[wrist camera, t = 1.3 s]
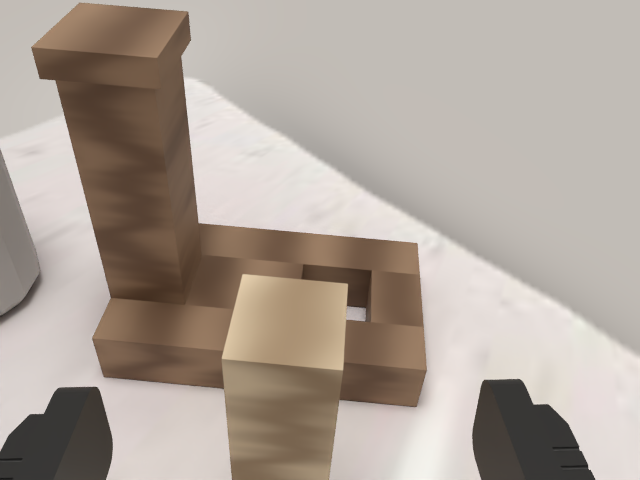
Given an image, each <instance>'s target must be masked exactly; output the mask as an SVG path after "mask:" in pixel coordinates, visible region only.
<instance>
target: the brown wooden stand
mask: <svg viewBox="0 0 640 480" xmlns="http://www.w3.org/2000/svg"><path fill="white" fill-rule="evenodd" d="M190 41H191V37H190V26H189V15H188V12H187V11H174V10H162V9H150V8H138V7H126V6H113V5H102V4H90V3H79V4H78V5H77V6H76V7H75V8H73V9H72V10H71V11H70V12H69V13H68V14H67V15H66V16H65V17H64V18H62V19H61V20H60V21H59V22H58V23H57V24H56V25H55V26H54V27H53V28H52V29H51V30H49V31H48V32H47V33H46V34H45V35H44V36H43V37H42V38H41V39H40V40H39V41H37V43H36V44H34V45H33V46H32V47H31V48H32V52H33V56H34V59H35V63H36V66H37V70H38V74H39V77H40V79H48V80H56V84H57V88H58V92H59V96H60V100H61V104H62V108H63V112H64V116H65V119H66V123H67V127H68V131H69V135H70V139H71V143H72V147H73V151H74V155H75V159H76V163H77V166H78V170H79V174H80V178H81V182H82V186H83V190H84V194H85V198H86V202H87V206H88V209H89V213H90V217H91V221H92V225H93V229H94V233H95V237H96V241H97V245H98V249H99V252H100V256H101V260H102V264H103V268H104V272H105V276H106V280H107V284H108V288H109V292H110V295H111V299H110V301H109V303H108V306H107V308H106V310H105V312H104V314H103V316H102V318H101V320H100V323H99V325H98V327H97V329H96V331H95V333H94V335H93V337H92V340H93V343H94V346H95V349H96V353H97V356H98V359H99V362H100V366H101V369H102V372H103V376H104V377H112V378H123V379H133V380H143V381H154V382H164V383H174V384H185V385H195V386H205V387H216V388H224V381H223V370H222V355H223V351H224V347H225V343H226V339H227V335H228V331H229V327H230V323H231V319H232V315H233V311H234V307H235V303H236V299H237V295H238V291H239V287H240V283H241V279H242V275H243V274H247V275H258V276H269V277H280V278H291V279H302V280H312V281H323V282H334V283H345V284H348V293H347V306H355V307H366V322H364V321H353V320H346V328H345V346H344V364H343V375H342V383H341V390H340V398H339V399H340V400H350V401H361V402H371V403H382V404H392V405H402V406H413V407H416V406H417V403H418V399H419V396H420V392H421V389H422V385H423V382H424V378H425V374H426V371H427V367H426V354H425V340H424V326H423V313H422V299H421V285H420V272H419V258H418V244H417V243H410V242H399V241H388V240H377V239H366V238H355V237H344V236H333V235H322V234H311V233H300V232H289V231H278V230H267V229H256V228H245V227H234V226H223V225H212V224H201V223H198V214H197V205H196V195H195V185H194V176H193V166H192V156H191V147H190V137H189V127H188V118H187V108H186V98H185V89H184V79H183V70H182V60H181V55H182V54H183V52H184V51H185V49H186V47H187V46H188V44H189V42H190Z"/></svg>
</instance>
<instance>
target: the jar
mask: <svg viewBox="0 0 640 480" xmlns="http://www.w3.org/2000/svg"><path fill="white" fill-rule="evenodd" d="M39 273H40V268H39V264H38V259H37V254H36V250H35V247H34V244H33V241H32V238H31V235H30V233H29V230H28V227H27V224H26V221H25V218H24V215H23V213H22V210H21V207H20V204H19V201H18V198H17V195H16V193H15V190H14V187H13V184H12V181H11V178H10V175H9V173H8V170H7V167H6V164H5V161H4V158H3V155H2V153H1V150H0V316H2V315H3V314H5V313H6V312H7V311H9V310H10V309H12V308H13V307H15V306H16V305H18V304H19V303H21V301H22V300H23V299H24V297H25V296H26V294H27V293H28V291H29V289H30V288H31V286H32V284H33V283H34V281H35V279H36V278H37V276H38V275H39Z"/></svg>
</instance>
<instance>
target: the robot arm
mask: <svg viewBox="0 0 640 480" xmlns="http://www.w3.org/2000/svg"><path fill="white" fill-rule="evenodd" d="M472 439H473V450H474V456H475V460H476V463H477V467H478V470H479V473H480V477H481V480H595V478H594V476H593V474H592V472H591V470H589V469H588V464H587V462H586V460H585V458H584V455H583V453H582V451H580V450H579V445H578V443H577V441H576V439H575V437H574V435H573V433H572V431H571V429H570V427H569V425H568V423H567V422H566V421H565V420H564V419H563V418H562V417H561V416H560V415H559V414H558V413H557V412H556V411H555V410H554V409H553V408H552V407H551V406H550V405H549V404H542V405H533V403H532V400H531V398H530V396H529V393H528V391H527V389H526V387H525V385H524V383H523V382H522V381H521V380H520V379H505V380H484V381H483V382H482V385H481V390H480V395H479V400H478V405H477V410H476V415H475V420H474V425H473V434H472ZM112 450H113V442H112V435H111V431H110V427H109V423H108V420H107V416H106V412H105V408H104V405H103V401H102V397H101V394H100V391H99V389H98V388H97V387H64V388H58V389H57V390H56V391H55V392H54V394H53V396H52V398H51V400H50V402H49V404H48V406H47V409H46V411H45V413H44V414H30V415H29V416H28V417H27V418H26V419H25V420H24V421H23V422H22V423H21V424H20V425H19V426H18V427H17V428H16V429H15V430H14V431H13V432H12V433H11V434H10V435H9V436H8V438H7V440H6V442H5V444H4V445H3V447H2V449H1V451H0V480H106V478H107V474H108V471H109V468H110V464H111V459H112Z"/></svg>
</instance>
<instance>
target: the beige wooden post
mask: <svg viewBox="0 0 640 480" xmlns="http://www.w3.org/2000/svg"><path fill="white" fill-rule="evenodd" d="M347 293H348V284H345V283H334V282H323V281H312V280H302V279H291V278H280V277H269V276H258V275H247V274H243V275H242V279H241V283H240V287H239V291H238V295H237V299H236V303H235V307H234V311H233V315H232V319H231V323H230V327H229V331H228V335H227V339H226V343H225V347H224V351H223V355H222V370H223V381H224V393H225V404H226V416H227V427H228V438H229V450H230V461H231V473H232V480H329V474H330V467H331V459H332V452H333V444H334V436H335V429H336V421H337V413H338V406H339V398H340V390H341V383H342V375H343V364H344V346H345V328H346V310H347Z"/></svg>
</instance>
